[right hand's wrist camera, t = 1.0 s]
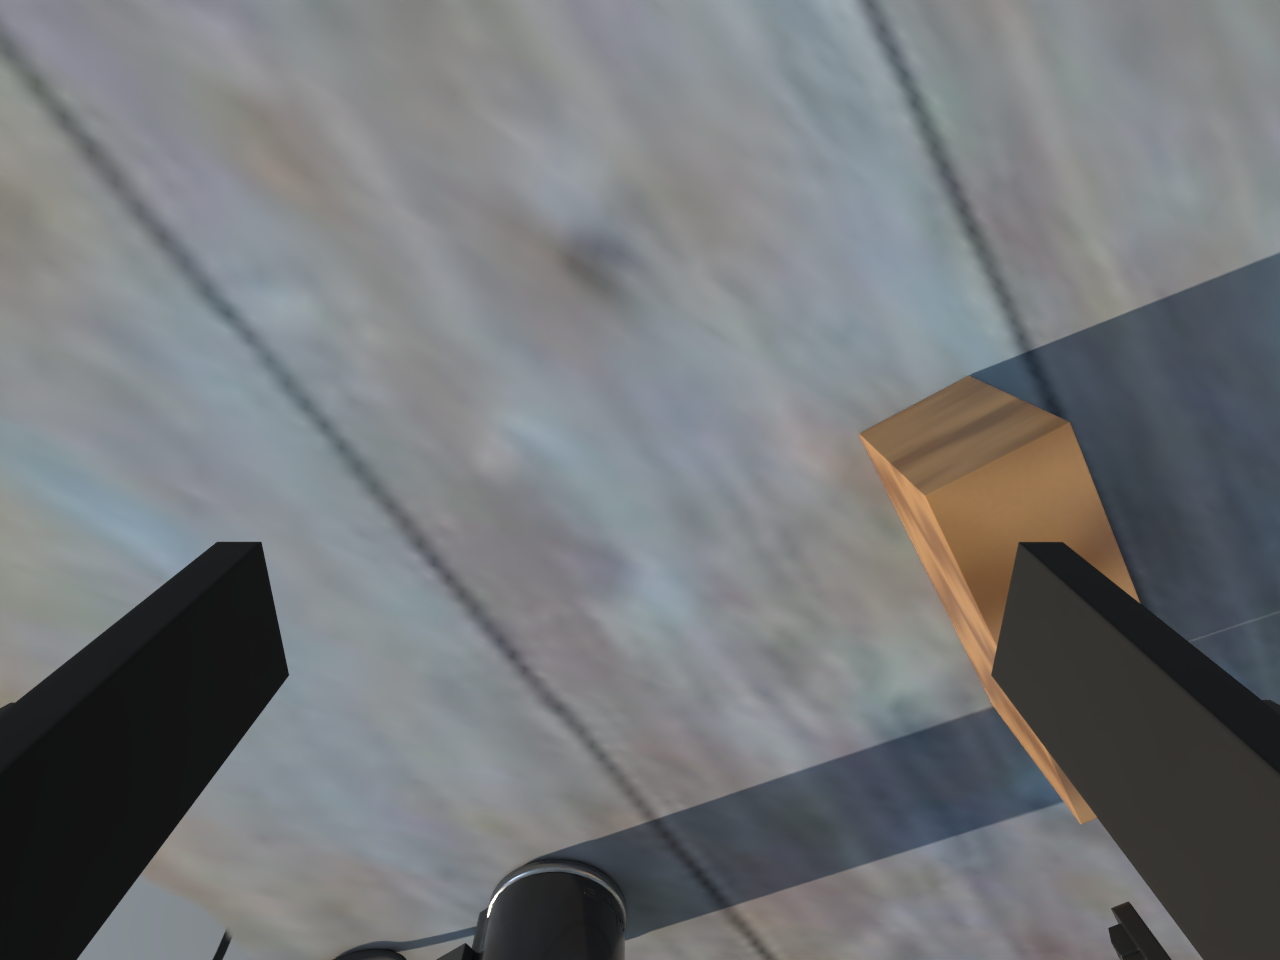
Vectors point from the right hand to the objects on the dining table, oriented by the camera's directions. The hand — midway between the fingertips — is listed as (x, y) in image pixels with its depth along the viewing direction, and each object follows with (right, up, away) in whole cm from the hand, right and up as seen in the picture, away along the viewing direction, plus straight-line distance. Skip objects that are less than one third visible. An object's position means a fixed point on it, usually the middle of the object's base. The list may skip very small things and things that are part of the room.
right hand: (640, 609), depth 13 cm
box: (+19, -2, +28) cm, 34 cm away
